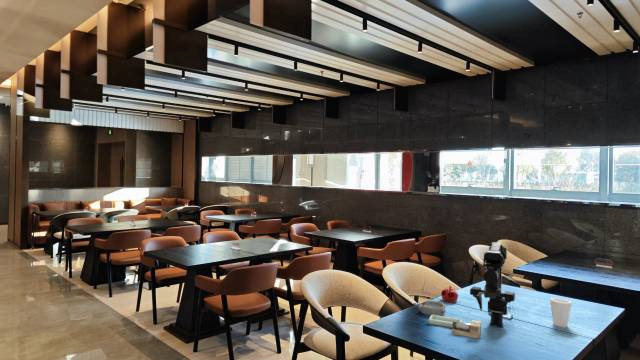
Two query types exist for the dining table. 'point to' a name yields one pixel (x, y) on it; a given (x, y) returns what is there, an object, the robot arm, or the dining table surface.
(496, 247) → the robot arm
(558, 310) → the foam cup
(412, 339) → the dining table surface
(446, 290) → the pomegranate
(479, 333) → the bracket
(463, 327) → the pin
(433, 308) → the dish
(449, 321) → the tray
